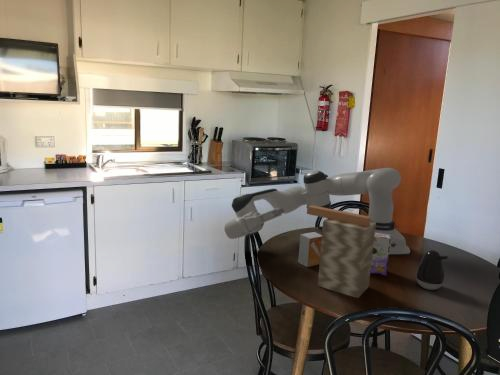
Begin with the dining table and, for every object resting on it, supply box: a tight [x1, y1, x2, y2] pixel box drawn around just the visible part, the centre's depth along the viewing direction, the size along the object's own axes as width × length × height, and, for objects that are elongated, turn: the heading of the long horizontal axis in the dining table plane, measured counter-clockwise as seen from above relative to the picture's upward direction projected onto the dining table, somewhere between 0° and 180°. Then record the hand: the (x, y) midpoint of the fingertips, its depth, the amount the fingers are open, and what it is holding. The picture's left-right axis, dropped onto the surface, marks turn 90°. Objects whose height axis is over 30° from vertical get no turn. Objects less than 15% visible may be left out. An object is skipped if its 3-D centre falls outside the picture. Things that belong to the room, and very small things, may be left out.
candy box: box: [370, 233, 391, 276], centre depth 177 cm, size 14×6×16 cm, turn 71°
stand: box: [317, 218, 376, 299], centre depth 160 cm, size 16×12×26 cm
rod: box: [306, 205, 370, 226], centre depth 160 cm, size 24×3×3 cm, turn 57°
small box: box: [297, 231, 322, 268], centre depth 182 cm, size 8×6×13 cm
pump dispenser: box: [415, 249, 449, 291], centre depth 164 cm, size 10×10×15 cm
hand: (278, 212), depth 177 cm, fingers open, 8 cm apart
